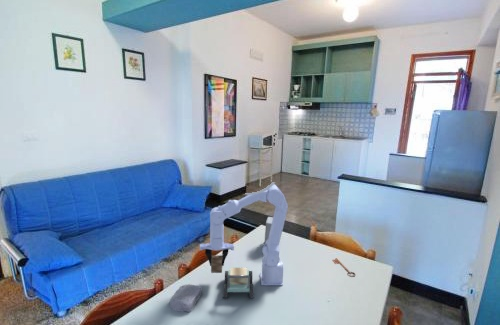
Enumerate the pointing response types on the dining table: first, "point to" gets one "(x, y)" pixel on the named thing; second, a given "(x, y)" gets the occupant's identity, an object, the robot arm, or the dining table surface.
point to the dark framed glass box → (238, 281)
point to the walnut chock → (216, 264)
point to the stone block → (185, 297)
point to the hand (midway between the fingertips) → (217, 264)
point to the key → (343, 266)
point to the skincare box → (268, 228)
